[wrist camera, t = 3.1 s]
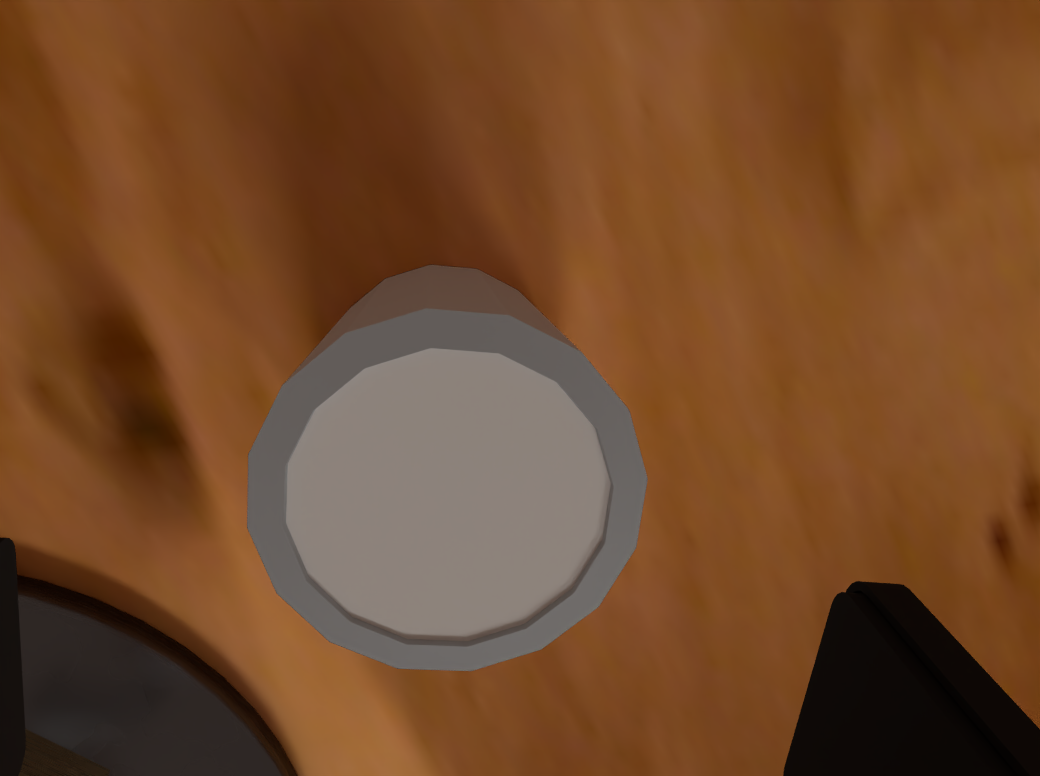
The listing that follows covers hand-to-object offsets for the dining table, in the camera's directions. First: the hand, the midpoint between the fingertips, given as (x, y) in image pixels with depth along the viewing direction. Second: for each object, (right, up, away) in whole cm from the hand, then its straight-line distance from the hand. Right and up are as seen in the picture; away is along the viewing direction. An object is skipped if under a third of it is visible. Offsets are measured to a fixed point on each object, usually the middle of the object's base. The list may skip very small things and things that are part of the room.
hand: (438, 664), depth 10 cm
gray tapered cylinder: (-1, +3, +12) cm, 12 cm away
